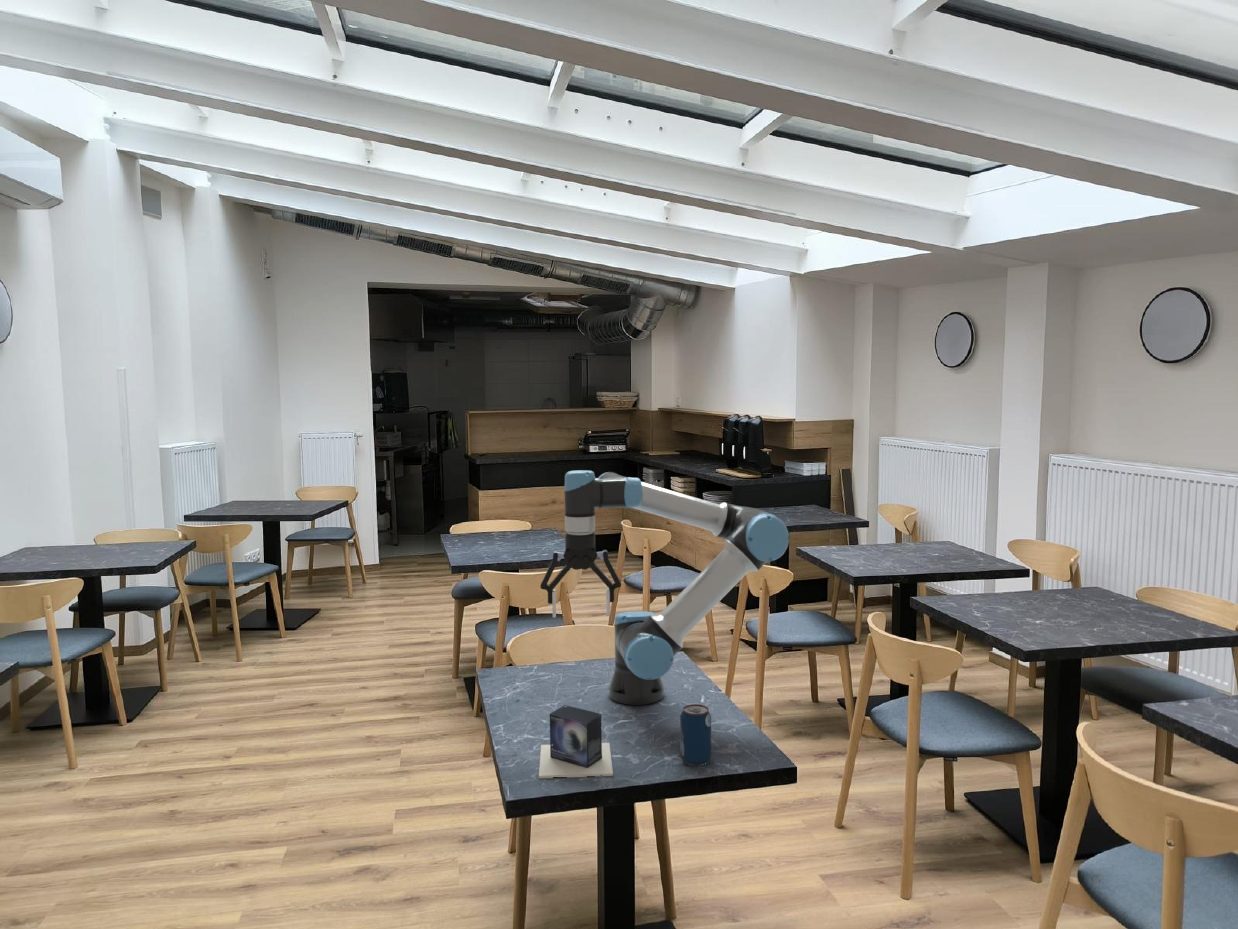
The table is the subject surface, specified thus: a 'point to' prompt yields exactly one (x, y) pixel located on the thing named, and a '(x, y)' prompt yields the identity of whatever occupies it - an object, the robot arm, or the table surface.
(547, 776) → the mat
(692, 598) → the robot arm
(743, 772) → the table surface
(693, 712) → the soda can
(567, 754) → the small box
